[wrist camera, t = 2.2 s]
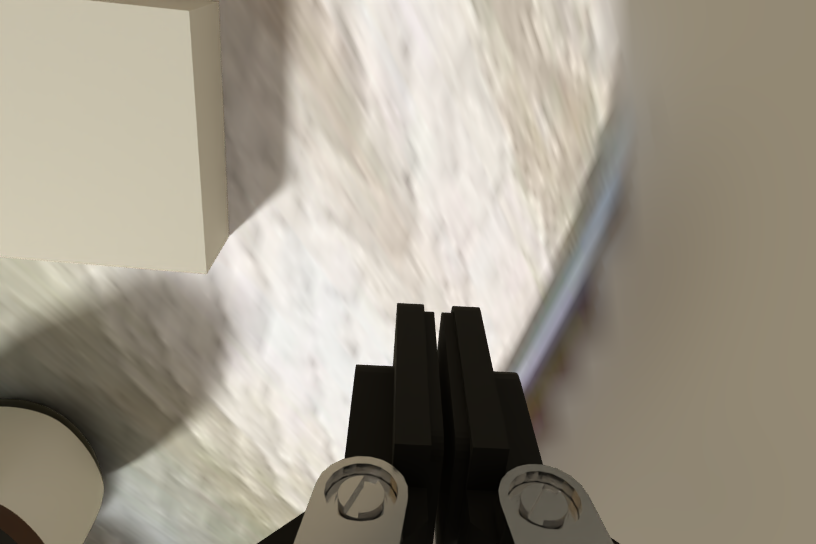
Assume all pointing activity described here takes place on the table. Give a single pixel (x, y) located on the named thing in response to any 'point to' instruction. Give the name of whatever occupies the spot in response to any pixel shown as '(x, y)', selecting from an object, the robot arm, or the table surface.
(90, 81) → the beige flat square block
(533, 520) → the robot arm
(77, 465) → the spread jar
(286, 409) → the table surface
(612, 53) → the table surface
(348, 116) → the table surface
